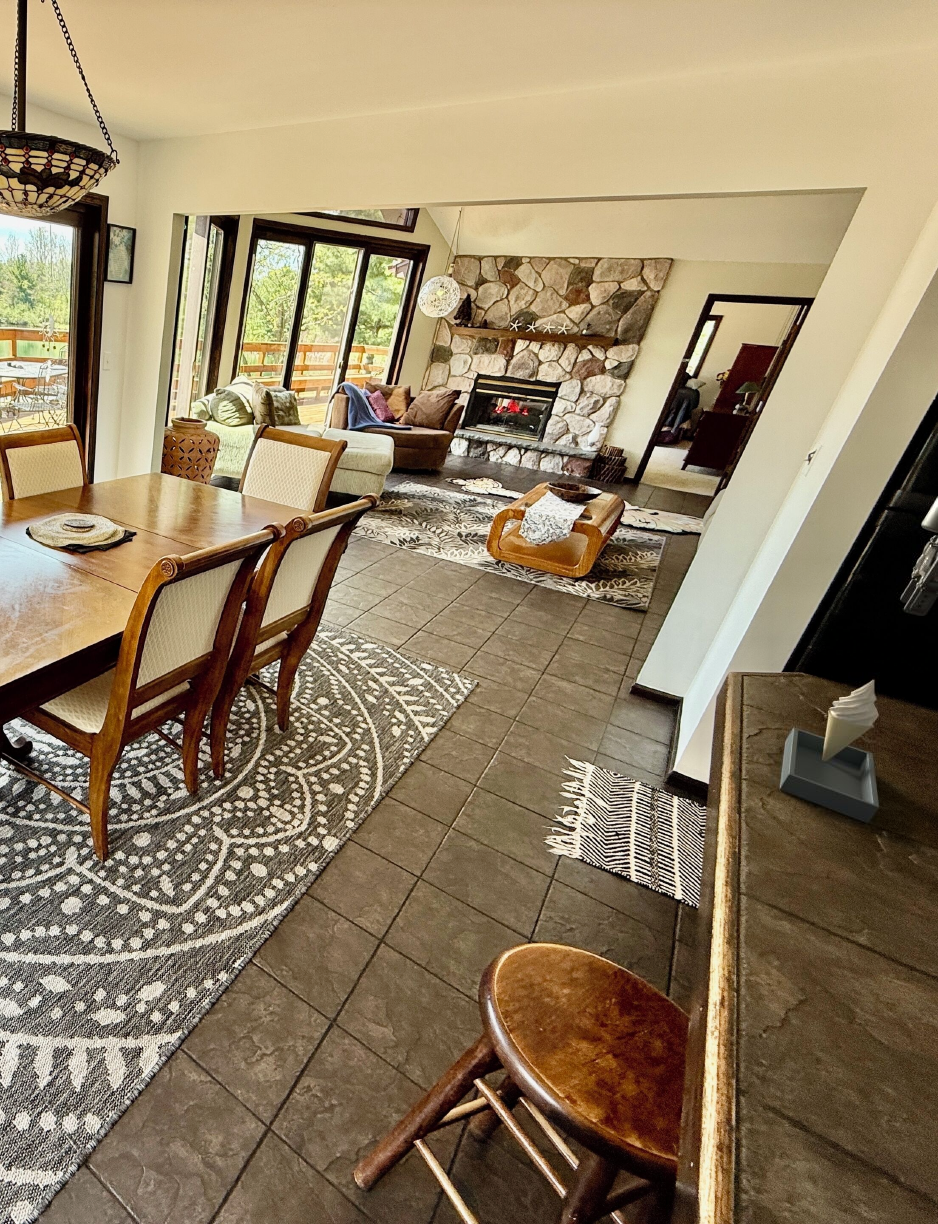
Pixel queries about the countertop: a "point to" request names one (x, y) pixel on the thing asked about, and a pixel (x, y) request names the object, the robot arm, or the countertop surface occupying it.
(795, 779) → the tray
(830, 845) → the countertop surface
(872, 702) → the ice cream cone
